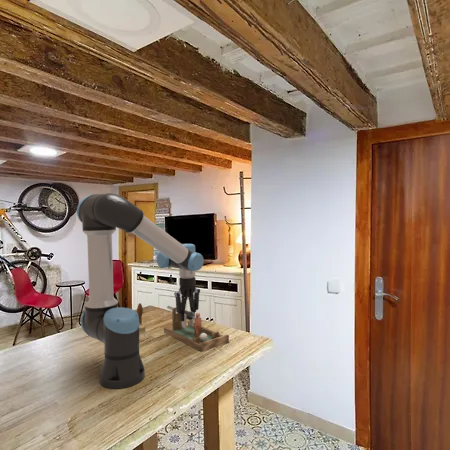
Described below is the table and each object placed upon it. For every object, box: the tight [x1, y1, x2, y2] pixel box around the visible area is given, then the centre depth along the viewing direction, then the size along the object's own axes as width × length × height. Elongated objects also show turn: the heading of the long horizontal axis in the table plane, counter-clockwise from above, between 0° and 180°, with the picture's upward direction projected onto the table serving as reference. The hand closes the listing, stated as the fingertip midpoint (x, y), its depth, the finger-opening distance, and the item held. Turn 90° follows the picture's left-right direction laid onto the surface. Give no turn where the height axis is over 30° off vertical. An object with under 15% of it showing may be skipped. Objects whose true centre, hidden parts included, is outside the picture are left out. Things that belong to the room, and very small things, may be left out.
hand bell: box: [136, 303, 150, 342], centre depth 155 cm, size 8×8×16 cm
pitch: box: [163, 306, 230, 352], centre depth 153 cm, size 15×30×12 cm, turn 40°
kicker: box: [166, 305, 202, 338], centre depth 160 cm, size 3×27×11 cm, turn 40°
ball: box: [200, 333, 207, 341], centre depth 148 cm, size 4×4×4 cm
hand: (187, 326), depth 157 cm, fingers closed on kicker, 3 cm apart
